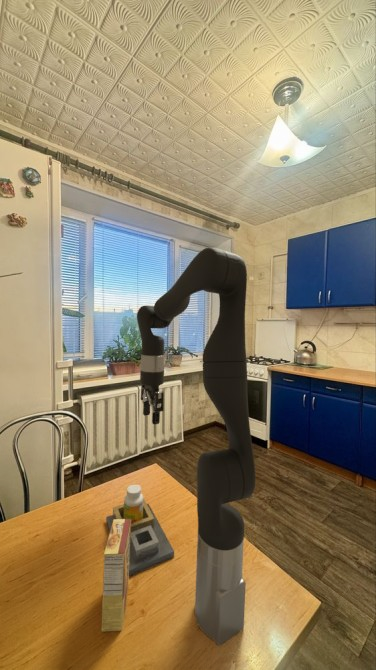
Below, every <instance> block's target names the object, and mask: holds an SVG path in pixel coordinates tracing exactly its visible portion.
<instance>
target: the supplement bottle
mask: <svg viewBox="0 0 376 670" xmlns="http://www.w3.org/2000/svg"><path fill="white" fill-rule="evenodd" d="M143 498H144V494H143V493H142V487H141V486H140V485H138V484H131V485H129V486H128V487H127V489H126V495H125V496H124V499H123V502H124V503H123V504H124V519H131V523H133V522H136V521H139V520H142V519H143Z"/></svg>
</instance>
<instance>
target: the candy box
mask: <svg viewBox="0 0 376 670" xmlns="http://www.w3.org/2000/svg"><path fill="white" fill-rule="evenodd" d="M108 533H109V532H108ZM130 535H131V519H114V520H113V522H112V526H111V530H110V533H109V534H108V536H107V537H108V538H107V540H106V541H107V542H106V545H105V549H104V552H103V580H102V582H103V583H102V605H101V606H102V607H101V633H104V632H105V633H107V632H119V631H122V630H123V626H124V625H123V624H124V621H125V620H124V618H125V612H126V605H127V600H128V591H129V581H130V579H129V578H130V577H129V558H130Z"/></svg>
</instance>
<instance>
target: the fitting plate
mask: <svg viewBox="0 0 376 670" xmlns="http://www.w3.org/2000/svg"><path fill="white" fill-rule="evenodd" d="M105 518H106V519H105V522H106V523H105V524H106V526H107V530H108V533H110V530H111V526H112V522H113V520H114V519H124V503H122V504H119V505H117V506H114V507H112V514H110V515H107V516H106V517H105ZM174 557H175V549H174V548H173V546H172V544H171V542H170V541H169V539H168V537H167V535H166V533H165V532H164V529H163V527H162V526H161V524H160V522H159V521H158V519H157V517H156V515H155V513H154V511H153V509H152V507H151V506H150V503H147V502H146V500H145V498H144V497H143V519H142V520H139V521H136V522H133V523H131V535H130V558H129V578H130V577H132V576H135V575H136V574H139V573H141V572H143V571H146V570H148V569H150V568H153V567H155V566H157V565H160V564H162V563H164V562H167V561H168V560H170V559H173V558H174Z"/></svg>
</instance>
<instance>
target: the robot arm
mask: <svg viewBox="0 0 376 670" xmlns="http://www.w3.org/2000/svg"><path fill="white" fill-rule="evenodd" d="M247 274H248V271H247V266H246V262H245V260H244V259H243V257H241V256H240V255H239V254H236V253H233V252H230V251H226V250H223V249H221V248H217V247H211V246H210V247H205V248H203V249H201V250H200V252H198V253H197V254H196V255H195V256H194V257H193V259H192V260H191V261H190V263H189V264H188V265H187V266H186V268H185V269H184V271H183V272H182V273H181V275H180V276H179V278H178V279H177V280H176V282H175V283H174V284H173V285H172V287H171V288H170V289H169V290H168V291H167V292H165V293H164V294H163V295H161V297H159V298H158V299H157V300H156V301H155V303H154V305H141V307H139V308H138V311H137V313H136V321H137V324H138V325H137V326H138V329H139V333H140V338H141V356H140V357H141V358H140V365H139V366H140V367H139V368H140V370H139V371H140V374H139V383H140V385H141V387H140V400H141V401H142V404H143V406H142V415H143V416H150V415H151V424H152V425H158V424H160V421H161V420H160V418H161V416H160V415H161V412H164V403H165V401H164V400H165V399H164V397H165V395H164V393H165V392H164V391H160V388H159V387H160V386H162V385H163V384H164V383H165V382H164V381H165V339H164V337H162V336H159V335H156V334H154V333H153V331H152V329H160V330H161V329H165V328H168V327H169V326H170V325H171V323H172V321H173V320H174V319H175V318H176V317H178V316H179V315H181V314H182V313H184V312H185V311H186V310H187V309H188V307H189V304H190V301H191V295H193V294H196V293H198V292H201V291H203V292H206V293H212V294H217V295H218V297H219V299H218V300H219V312H218V313H219V315H218V318H217V321H216V323H215V327H214V329H213V330H212V332H211V335H210V336H209V338H208V340H207V342H206V343H205V346H204V349H203V352H202V381H203V382H202V384H203V387H204V390H205V392H206V394H207V395H208V398H209V399H210V400H211V402H212V404H213V405H214V407H215V408H216V410H217V411H218V413H219V414H220V417H221V418H222V420H223V422H224V424H225V428H226V431H227V438H228V448H225V449H219V450H210V451H206V452H203V453H201V454H200V456H199V457H198V460H197V465H196V489H197V490H196V493H197V495H196V496H197V498H196V505H197V507H196V508H197V509H196V511H197V512H196V513H197V542H196V544H197V546H196V569H195V570H196V571H195V574H196V575H195V598H194V599H195V601H194V614H195V620H196V623H197V625H198V627H199V629H200V630H201V631H202V632H203V633H204V634H205V635H206V636H207V637H209V638H211V639H212V640H214V641H215V643H216V645H217V646H221V645H222V644H224V643H225V642H226V641H228V640H229V639H231V638H232V637H235V635H237V634H238V633H240V632H241V631H243V630H244V627H245V610H246V609H245V608H246V607H245V606H246V605H245V604H246V585H247V584H246V580H245V578H244V577H243V568H244V567H243V566H244V563H243V562H244V548H245V547H244V545H245V544H244V542H245V521H244V519H243V516H242V515H241V513H240V512H239V511H238V509H236V508H235V507H233V506H232V505H229V503H233V502H237V501H240V500H241V501H242V500H244V499H248V498H250V497H252V495H253V494H254V492H255V489H256V479H257V478H256V465H255V458H254V457H255V455H254V449H253V443H252V435H251V426H250V414H249V400H248V397H249V396H248V365H247V364H248V363H247V362H248V361H247V351H246V301H247V288H248V287H247V283H248V277H247V276H248V275H247ZM151 411H152V412H151Z"/></svg>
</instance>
